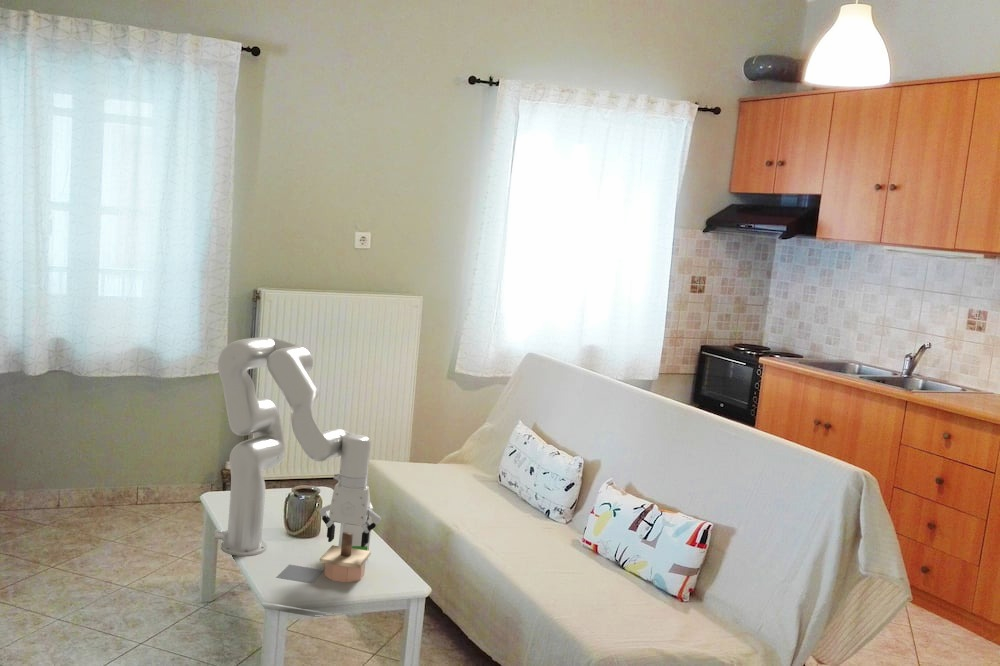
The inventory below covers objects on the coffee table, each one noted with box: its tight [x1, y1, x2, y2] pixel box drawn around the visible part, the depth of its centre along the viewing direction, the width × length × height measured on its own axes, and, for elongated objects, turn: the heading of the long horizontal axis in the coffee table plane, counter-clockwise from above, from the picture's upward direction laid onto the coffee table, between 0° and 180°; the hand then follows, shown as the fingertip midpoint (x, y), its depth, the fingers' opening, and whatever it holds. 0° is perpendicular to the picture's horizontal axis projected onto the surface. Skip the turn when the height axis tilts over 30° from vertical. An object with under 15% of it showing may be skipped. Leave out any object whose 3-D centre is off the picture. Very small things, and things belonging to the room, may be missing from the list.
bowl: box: [324, 560, 367, 583], centre depth 259 cm, size 10×10×5 cm
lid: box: [319, 532, 372, 568], centre depth 259 cm, size 11×11×7 cm
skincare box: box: [337, 501, 374, 551], centre depth 274 cm, size 8×7×16 cm
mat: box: [275, 564, 325, 584], centre depth 257 cm, size 10×10×1 cm
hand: (347, 542), depth 259 cm, fingers open, 8 cm apart
